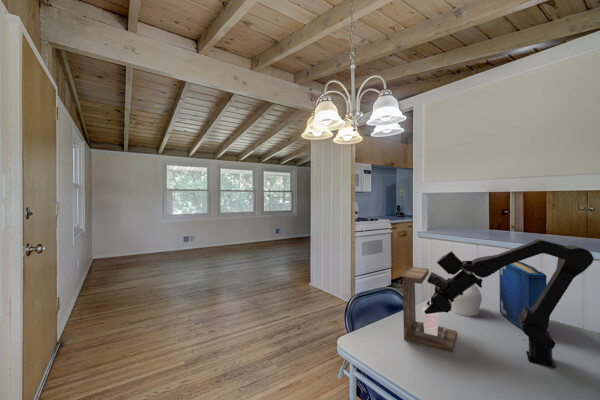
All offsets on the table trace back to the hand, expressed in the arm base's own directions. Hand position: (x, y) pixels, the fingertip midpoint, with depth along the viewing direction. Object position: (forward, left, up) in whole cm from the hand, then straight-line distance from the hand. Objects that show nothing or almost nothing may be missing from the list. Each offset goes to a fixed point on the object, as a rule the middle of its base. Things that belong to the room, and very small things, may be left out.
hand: (426, 308), depth 104 cm
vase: (+34, -10, -11) cm, 37 cm away
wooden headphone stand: (0, -1, -10) cm, 10 cm away
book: (+30, -31, -11) cm, 45 cm away
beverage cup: (0, -1, -9) cm, 10 cm away
